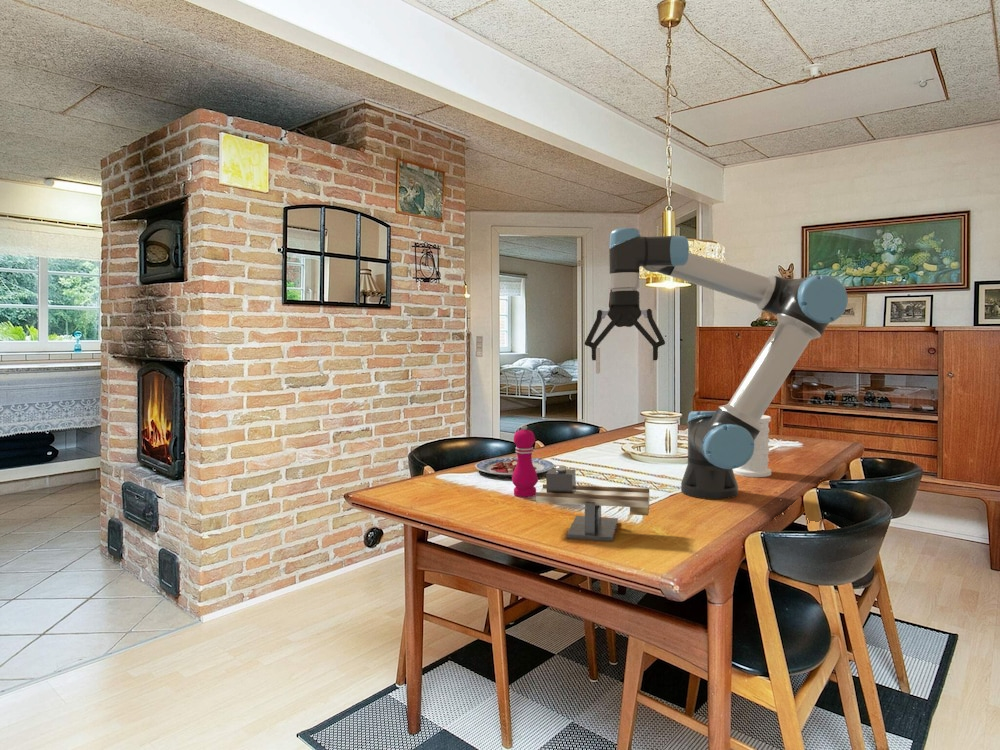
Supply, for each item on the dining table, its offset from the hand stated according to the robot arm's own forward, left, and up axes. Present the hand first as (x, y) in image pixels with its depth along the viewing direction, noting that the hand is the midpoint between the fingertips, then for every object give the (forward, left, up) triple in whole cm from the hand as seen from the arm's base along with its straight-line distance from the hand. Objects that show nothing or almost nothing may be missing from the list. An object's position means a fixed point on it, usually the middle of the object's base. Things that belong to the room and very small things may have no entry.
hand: (624, 373), depth 164 cm
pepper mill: (+28, -5, -35) cm, 45 cm away
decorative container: (-36, -45, -35) cm, 67 cm away
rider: (+13, +22, -26) cm, 37 cm away
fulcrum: (+5, +22, -35) cm, 41 cm away
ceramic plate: (+38, -33, -35) cm, 61 cm away
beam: (+5, +22, -30) cm, 37 cm away
